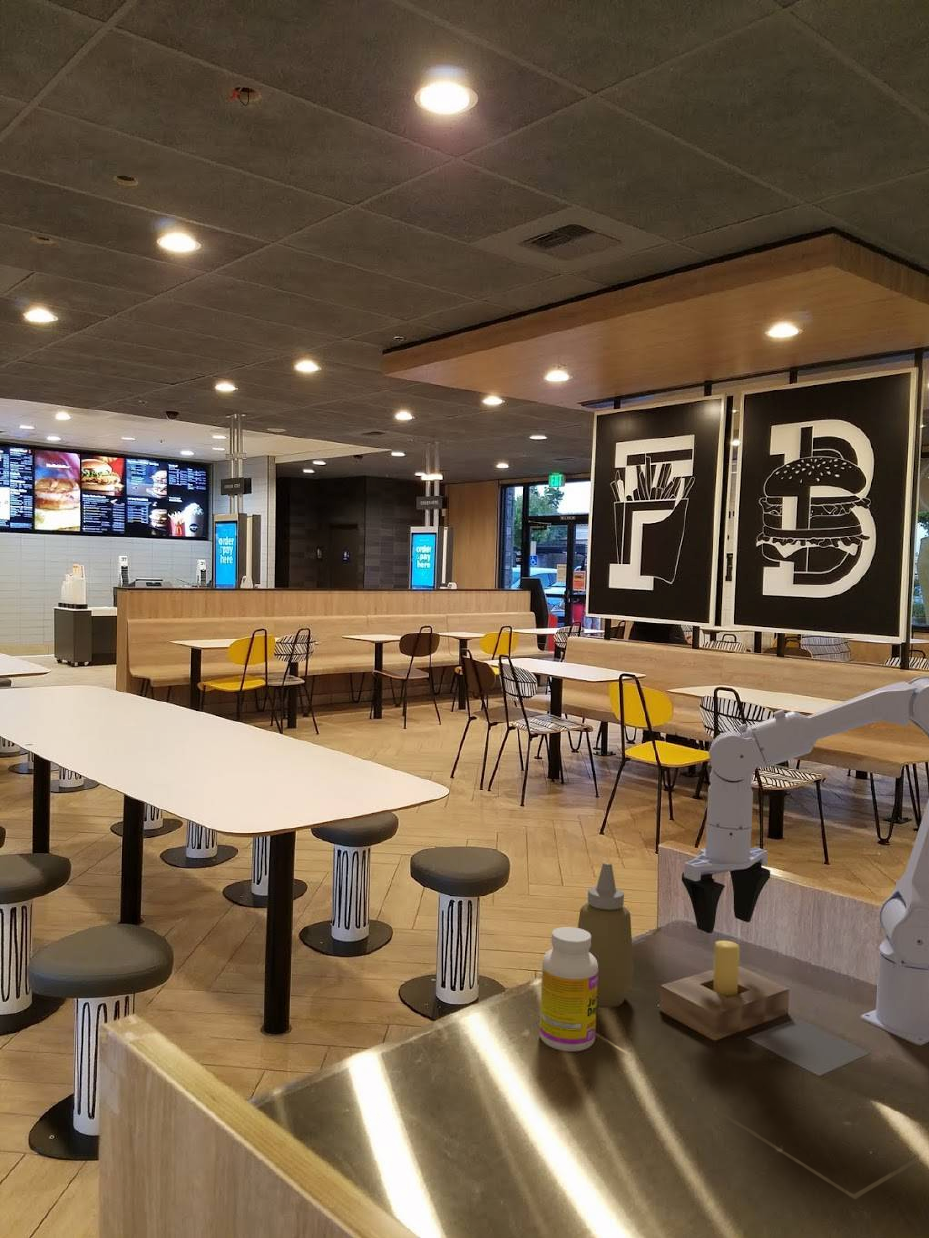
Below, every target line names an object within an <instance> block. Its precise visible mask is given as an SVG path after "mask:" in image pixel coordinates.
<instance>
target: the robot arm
mask: <svg viewBox="0 0 929 1238" xmlns="http://www.w3.org/2000/svg"><path fill="white" fill-rule="evenodd" d="M877 722H886V723H892V724H897V725H901V726H906V727H909V726H910V725H911V723H913V724H914V725H915V726H916V727H918V728H919V729H920V730H921V731H922V732H923V733H925V734H926V735H927V738H928V739H929V676H920V677H916V678H913V679H912V680H910V681H908V682H906V681H899V682H895V683H892V684H888V685H885V686H883V687H878V688H877V689H874V690H871V691H869V692H865V693H864V694H861V695H858V696H856V697H853V698H850V699H848V700H845V701H842V702H841V703H837V704H835V705H833V706H829V707H828V708H825V709H822V710H820V711H817V712H815V713H813V714H809V715H804V714H802V713H800V712H797V711H795V710H791V711H787V712H786V713H785V711H784V709H779V710H776V711H773V717H771V718H768V719H765V720H763V721H760V722H757V723H754V724H751V725H748V726H747V724H746V723H743V724H740V725H738V731H733V730H731V731H724V732H722V733H720V734H719V735H717V736H716V737H715V738H714V740H713V741H712V742H711V744H710V748H709V749H708V756H709V763H710V765H711V771H710V773H709V779H708V780H709V783H710V785H709V786H708V787H707V788H708V789H707V790H708V791H707V809H706V829H705V830H706V831H705V848H701V849H699V855H698V856H696V857H695V858H694V859H692V860H689V861H686V862H684V868H683V872H682V873H681V882H682V883H683V885H684V888H686V891H687V893H688V896H689V899H690V901H691V906H692V908H693V909H692V910H693V912H694V917H695V924H696V928H697V929H698V930H700V931H703V932H705V933H706V934H712V933H713V932H714V929H715V924H716V917H717V916H716V915H717V909H718V905H719V901H720V897H721V894H722V893H723V890H724V889H725V885H724V884H722V883H719V882H717V881H715V878H713V876H714V875H718V874H723V873H728V872H729V874H730V878H731V882H732V892H733V914H734V918H735V919H738V920H740V921H743V922H745V923H750V922H751V920H752V917H753V914H754V911H755V908H756V905H757V902H758V900H759V896H760V894H761V892H762V891H763V888H764V887H765V886H766V883H767V882H768V880H769V879H770V878H771V870H770V869H769V868H765V867H763V866H767V865H768V857H769V856H768V854H769V850H765V849H762V848H759V847H752V846H751V845H752V844H751V840H752V821H753V803H754V801H753V800H754V791H753V790H752V784H753V783H752V782H753V781H752V780H753V774H754V773H755V771H756V770H757V768H761V769H766V768H770V767H773V766H775V765H777V764H781V763H784V762H787V761H790V760H793V759H796V758H798V757H802V756H805V755H807V754H809V753H811V752H812V751H813V749H814V746H815V744H817V743H816V742H818V740H820V739H824V738H827V737H830V736H833V735H837V734H841V733H843V732H847V731H850V730H853V729H857V728H861V727H865V726H867V725H870V724H874V723H877ZM751 847H752V848H751ZM878 918H879V923H880V925H881V928H882V929H883V930H884V931H885V933H886V936H885V937H884V940H883V941H882V942H881V943H880V945H879V948H878V964H877V965H878V966H877V983H876V984H877V985H876V988H877V989H876V1002H875V1009H873V1010H871V1011H868V1012H866V1013H863V1014H861V1015H860V1019H861V1021H863V1022H866V1023H868V1024H870V1025H873V1026H874V1027H877V1028H879V1029H882V1030H883V1031H886V1032H888V1033H891V1034H893V1035H894V1036H897V1037H899V1038H901V1039H904V1040H906V1041H908V1042H911V1043H913V1044H914V1045H917V1046H923V1045H925V1044H927V1043H929V798H928V799H927V803H926V806H925V809H924V812H923V816H922V818H921V822H920V825H919V828H918V832H917V834H916V838H915V841H914V843H913V847H912V850H911V853H910V857H909V860H908V862H907V866H906V869H905V872H904V874H903V875H902V876H901V877H900V878H899V879H898V880H897V882H896V883H895V887H894V890H893V891H892V892H891V894H890V896H888V897H887V898H886V899H885V900H884V901H883V903H881V906H880V908H879V913H878Z"/></svg>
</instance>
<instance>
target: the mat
mask: <svg viewBox="0 0 929 1238" xmlns="http://www.w3.org/2000/svg"><path fill="white" fill-rule="evenodd" d="M746 1039H747V1040H750V1041H752V1042H754V1043H755V1044H757V1045H759V1046H761V1047H763V1048H765V1049H766V1050H768V1051H771V1052H772V1053H774V1054H776V1055H777V1056H780V1057H782V1058H784V1059H785V1060H787V1061H789V1062H791V1063H793V1064H795V1065H796V1066H799V1067H800V1068H803V1069H804V1070H806V1071H808V1072H810V1073H812V1074H814V1075H815V1076H817V1077H821V1076H824V1075H825V1074H828V1073H830V1072H833V1071H835V1070H837V1069H839V1068H841V1067H844V1066H845V1065H847V1064H850V1063H852V1062H854V1061H857V1060H860V1059H861V1058H864V1057H866V1056H868V1055H871V1052H869V1051H867V1050H865V1049H863V1048H861V1047H859V1046H858V1045H855V1044H853V1043H851V1042H849V1041H847V1040H845V1039H843V1038H840V1037H838V1036H836V1035H835V1034H831V1032H828V1031H827V1030H824V1029H821V1028H820V1027H818V1026H815V1025H814V1024H811V1023H809V1022H808V1021H805V1020H803V1019H801V1018H799V1017H796V1018H794V1019H792V1020H789V1021H787V1022H786V1021H785V1022H784V1023H781V1024H779V1025H776V1026H773V1027H770V1028H768V1029H765V1030H763V1031H760V1032H757V1033H755V1034H752V1035H749V1036H747V1037H746Z"/></svg>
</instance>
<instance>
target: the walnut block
mask: <svg viewBox="0 0 929 1238" xmlns="http://www.w3.org/2000/svg"><path fill="white" fill-rule="evenodd" d="M713 982H714V968H713V969H709V970H706V971H703V972H700V973H696V974H693V975H689V976H687V977H684V978H679V979H677V980H674V981H671V982H667V983H664V984H661V985H660V988H659V1009H658V1011H660V1012H661V1013H664V1014H665V1015H667V1016H669V1017H671V1018H673V1019H674V1020H676V1021H678V1022H679V1023H681V1024H683V1025H685V1026H686V1027H688V1028H691V1029H692V1030H694V1031H696V1032H698V1033H699V1034H702V1035H703V1036H705V1037H707V1039H710V1040H712V1041H713V1042H714V1041H717V1040H720V1039H722V1038H723V1039H724V1038H726V1037H729V1036H731V1035H733V1034H737V1033H739V1032H741V1031H745V1030H747V1029H751V1028H753V1027H756V1026H759V1025H760V1024H764V1023H767V1022H769V1021H772V1020H774V1019H777V1018H779V1017H782V1016H785V1015H788V1014H789V1004H790V1003H789V1001H790V1000H789V999H790V998H789V997H790V988H789V987H786V986H784V985H781V984H779V983H777V982H775V981H774V980H772V979H768V978H766V977H765V976H762V975H760V974H758V973H756V972H753V971H751V970H749V969H746V968H744V967H742V966H740V965H739V969H738V993H737V995H734V996H731V997H728V998H726V997H724V996H722V995H720V994H718V993H716V992H714V991H713Z"/></svg>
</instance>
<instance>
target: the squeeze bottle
mask: <svg viewBox="0 0 929 1238" xmlns="http://www.w3.org/2000/svg"><path fill="white" fill-rule="evenodd" d="M613 869H614V868H613V864H612V863H610V862H603V863H602V864H601V869H600V872H599V875H598V881H597V883H596V884H597V885H596V886H592V887H590V888H589V889H588V891H587V903H585V904H583V905H582V906H581V908H580V909H579V917H578V923H577V928H580V929H583V930H585V931H587V932H589V933H590V934H591V947H590V949H589V953H591V954H592V955H593V956H594V957H595V958H596V960H597V963H598V981H597V1007H598V1008H615V1007H618V1006H620V1005H623V1003H624V1001H625V999H626V997H627V995H628V991H629V989H630V987H631V984H632V980H633V979H634V976H635V974H634V956H633V955H634V952H633V939H632V937H633V935H632V922H631V921H632V920H631V919H632V917H631V913H630V910H629V909H627V908H626V907H625V906H624V903H625V902H624V900H625V893H624V891H623V890H622V889H619V888H616V886H617V885H616V881H615V875H614V870H613Z"/></svg>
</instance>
